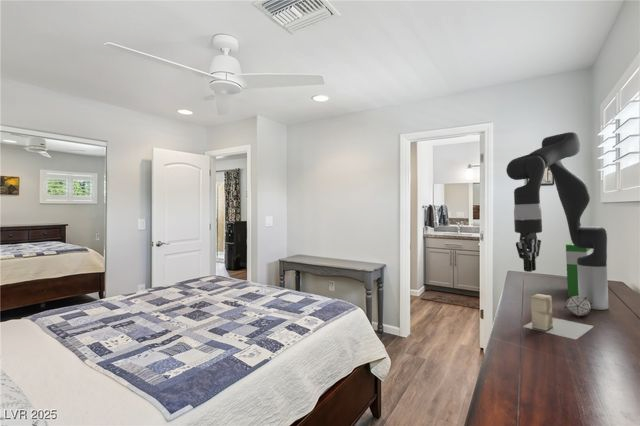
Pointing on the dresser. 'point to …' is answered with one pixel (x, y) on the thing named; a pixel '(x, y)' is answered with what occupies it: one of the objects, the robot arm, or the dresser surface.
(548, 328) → the maple block
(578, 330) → the felt mat
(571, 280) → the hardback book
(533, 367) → the dresser surface
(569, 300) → the game die
